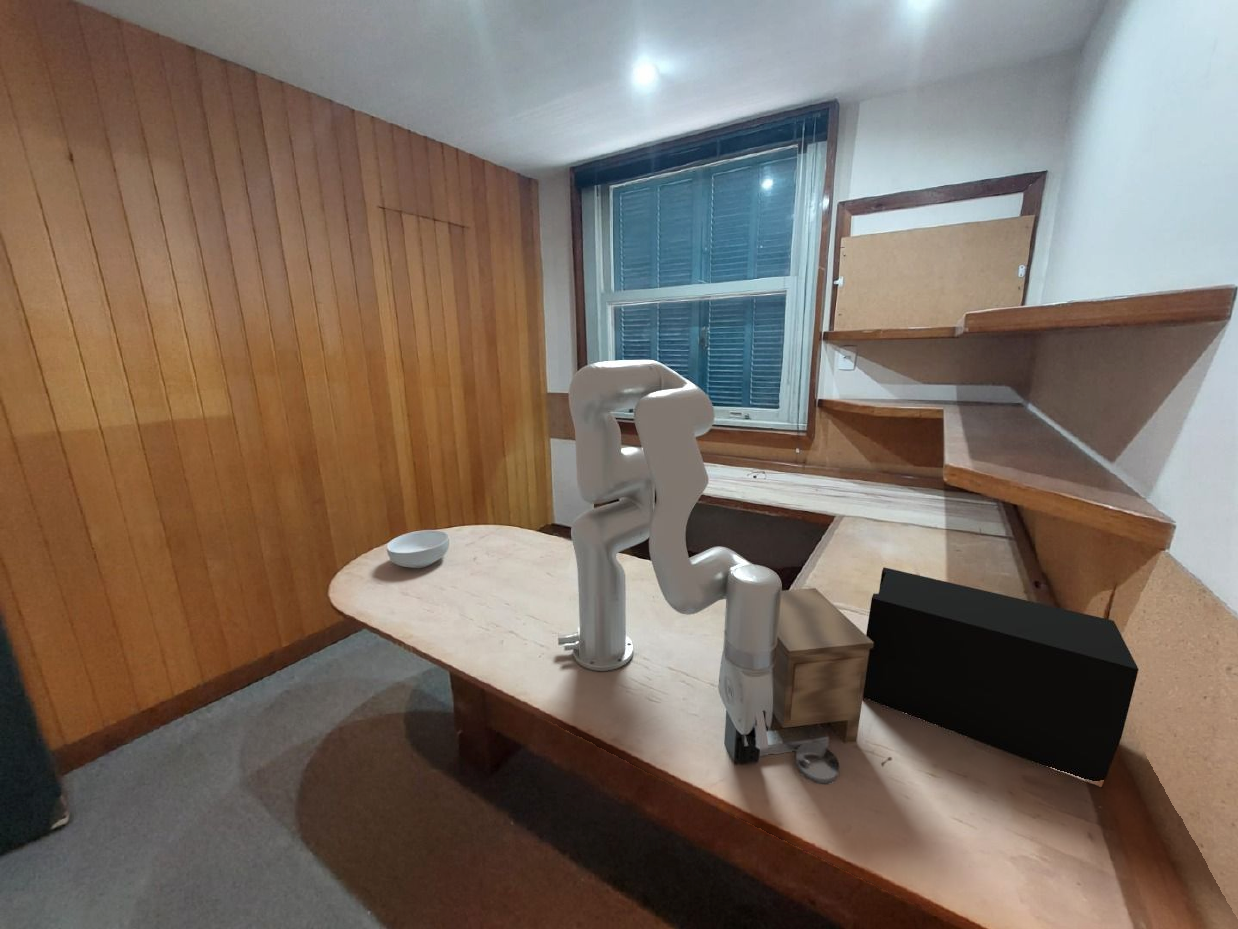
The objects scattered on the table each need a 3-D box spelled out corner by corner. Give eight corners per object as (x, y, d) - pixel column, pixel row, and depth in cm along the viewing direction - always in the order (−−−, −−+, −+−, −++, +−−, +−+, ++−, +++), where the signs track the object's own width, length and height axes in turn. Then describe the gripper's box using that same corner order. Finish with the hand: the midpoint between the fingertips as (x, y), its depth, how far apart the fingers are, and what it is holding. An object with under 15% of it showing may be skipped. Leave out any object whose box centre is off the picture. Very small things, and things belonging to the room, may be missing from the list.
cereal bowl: (439, 545, 152) (437, 525, 151) (459, 563, 140) (457, 541, 138) (382, 561, 142) (379, 539, 140) (398, 582, 130) (395, 558, 128)
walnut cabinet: (779, 753, 75) (789, 651, 70) (739, 681, 91) (744, 593, 86) (859, 743, 77) (873, 642, 72) (806, 673, 92) (815, 588, 88)
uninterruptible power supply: (871, 652, 99) (884, 564, 94) (1095, 726, 80) (1126, 620, 75) (856, 700, 86) (870, 600, 81) (1119, 801, 67) (1159, 679, 62)
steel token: (836, 791, 69) (837, 783, 68) (792, 774, 71) (793, 766, 71) (839, 760, 74) (840, 752, 73) (798, 745, 76) (799, 737, 76)
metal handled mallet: (733, 764, 73) (736, 726, 71) (724, 743, 77) (726, 707, 75) (830, 751, 75) (835, 714, 73) (816, 731, 79) (820, 695, 77)
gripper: (706, 618, 78) (702, 712, 82) (748, 690, 62) (740, 801, 66) (750, 614, 79) (743, 707, 83) (802, 684, 63) (790, 794, 67)
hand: (742, 748), depth 75 cm, fingers closed on metal handled mallet, 4 cm apart
